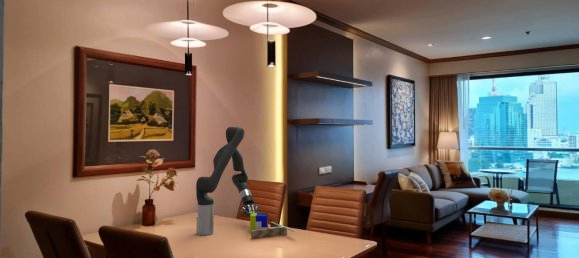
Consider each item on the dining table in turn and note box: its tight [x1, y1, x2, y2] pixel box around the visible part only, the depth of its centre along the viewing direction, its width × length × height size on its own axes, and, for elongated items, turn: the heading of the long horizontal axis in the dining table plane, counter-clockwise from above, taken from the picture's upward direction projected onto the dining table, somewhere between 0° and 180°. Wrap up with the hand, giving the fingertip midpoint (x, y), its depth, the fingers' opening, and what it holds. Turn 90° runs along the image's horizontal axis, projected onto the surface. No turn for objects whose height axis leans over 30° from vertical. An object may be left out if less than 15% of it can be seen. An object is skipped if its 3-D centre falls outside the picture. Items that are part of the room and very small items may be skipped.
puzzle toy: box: [249, 212, 269, 234], centre depth 250 cm, size 10×10×10 cm
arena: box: [250, 221, 296, 240], centre depth 238 cm, size 22×28×5 cm
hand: (254, 220), depth 257 cm, fingers closed
